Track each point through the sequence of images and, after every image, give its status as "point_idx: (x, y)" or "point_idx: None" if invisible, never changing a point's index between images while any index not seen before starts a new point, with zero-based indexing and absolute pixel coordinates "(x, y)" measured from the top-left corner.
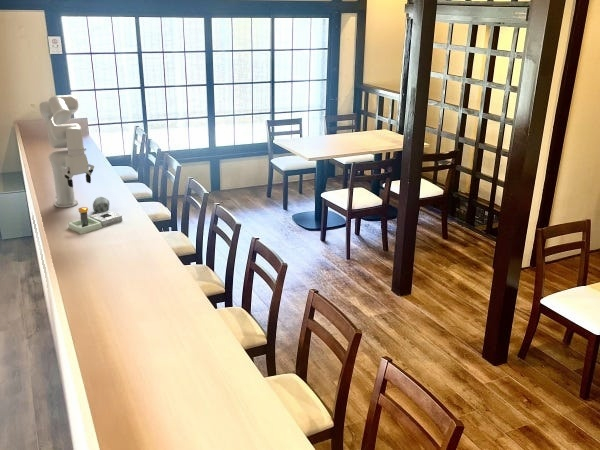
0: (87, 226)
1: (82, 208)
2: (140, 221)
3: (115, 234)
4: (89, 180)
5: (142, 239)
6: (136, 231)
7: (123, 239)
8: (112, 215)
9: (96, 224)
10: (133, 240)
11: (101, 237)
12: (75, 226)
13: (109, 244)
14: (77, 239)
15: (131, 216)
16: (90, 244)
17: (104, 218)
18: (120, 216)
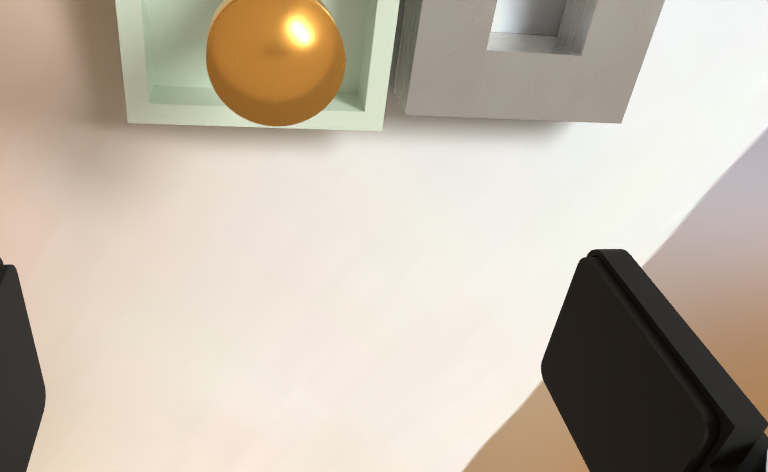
0: (221, 122)
1: (274, 49)
2: (643, 214)
3: (342, 297)
4: (579, 426)
5: (393, 444)
6: (470, 339)
7: (318, 390)
8: (586, 51)
9: (325, 128)
10: (349, 430)
11: (231, 281)
12: (118, 23)
13: (199, 402)
14: (44, 192)
15: (720, 69)
16: (90, 335)
17: (478, 64)
18: (604, 121)
